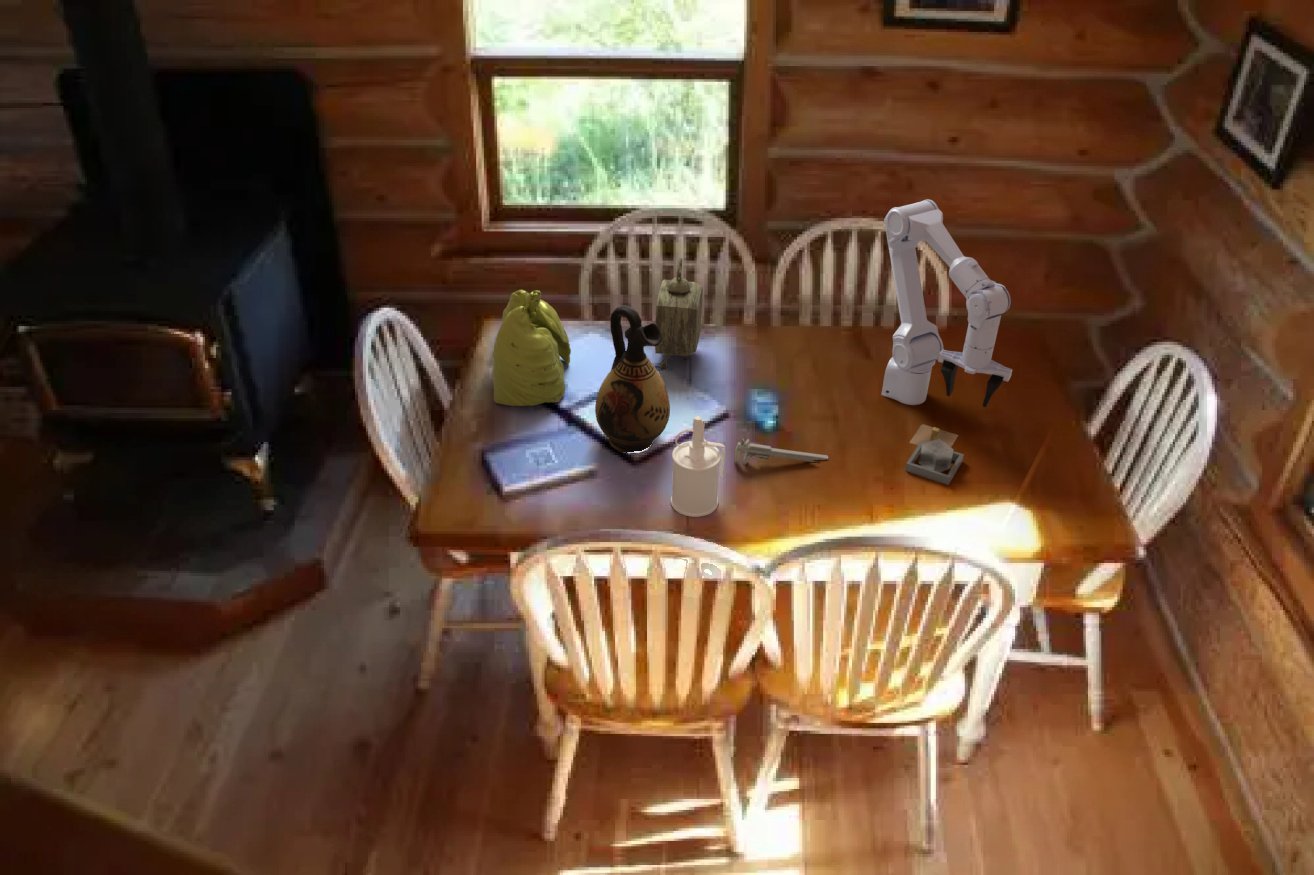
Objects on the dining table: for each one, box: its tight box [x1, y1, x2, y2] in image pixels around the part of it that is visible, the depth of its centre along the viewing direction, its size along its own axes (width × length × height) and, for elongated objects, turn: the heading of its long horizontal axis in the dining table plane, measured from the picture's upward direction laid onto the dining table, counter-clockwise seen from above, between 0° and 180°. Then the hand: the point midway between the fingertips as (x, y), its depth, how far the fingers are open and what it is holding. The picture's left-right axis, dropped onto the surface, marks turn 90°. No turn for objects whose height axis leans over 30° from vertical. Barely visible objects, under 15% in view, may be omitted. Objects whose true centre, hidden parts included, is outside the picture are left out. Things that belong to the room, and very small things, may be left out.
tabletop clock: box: [654, 257, 704, 370], centre depth 251 cm, size 14×9×25 cm, turn 172°
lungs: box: [492, 289, 572, 407], centre depth 241 cm, size 25×16×24 cm, turn 176°
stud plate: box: [909, 423, 959, 448], centre depth 232 cm, size 8×8×3 cm
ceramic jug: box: [594, 304, 671, 454], centre depth 223 cm, size 17×15×30 cm
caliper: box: [733, 437, 830, 466], centre depth 224 cm, size 20×1×6 cm, turn 94°
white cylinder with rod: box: [670, 415, 727, 518], centre depth 210 cm, size 10×9×20 cm
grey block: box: [918, 438, 954, 473], centre depth 223 cm, size 4×4×5 cm
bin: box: [904, 441, 965, 486], centre depth 224 cm, size 9×9×3 cm
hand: (967, 399), depth 229 cm, fingers open, 7 cm apart
